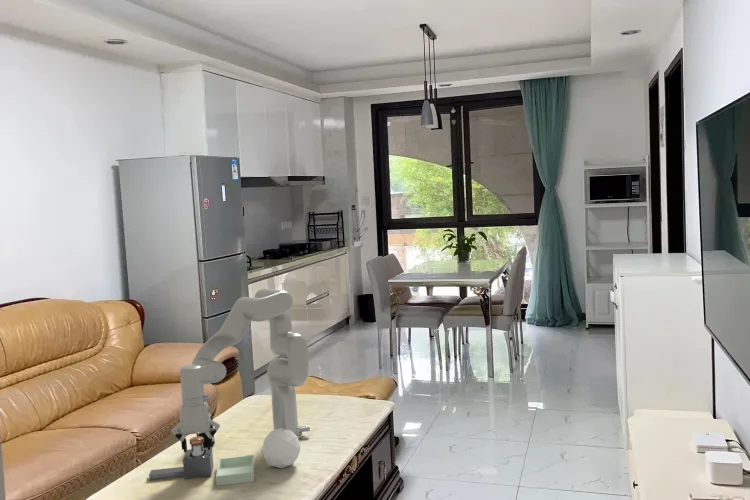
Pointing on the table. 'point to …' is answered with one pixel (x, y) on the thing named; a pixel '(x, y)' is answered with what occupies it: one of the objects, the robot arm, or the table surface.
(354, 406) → the table surface
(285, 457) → the geodesic sphere
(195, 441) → the pin
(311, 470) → the table surface
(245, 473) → the tray
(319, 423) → the table surface
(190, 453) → the hitch block
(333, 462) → the table surface
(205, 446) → the beverage can
